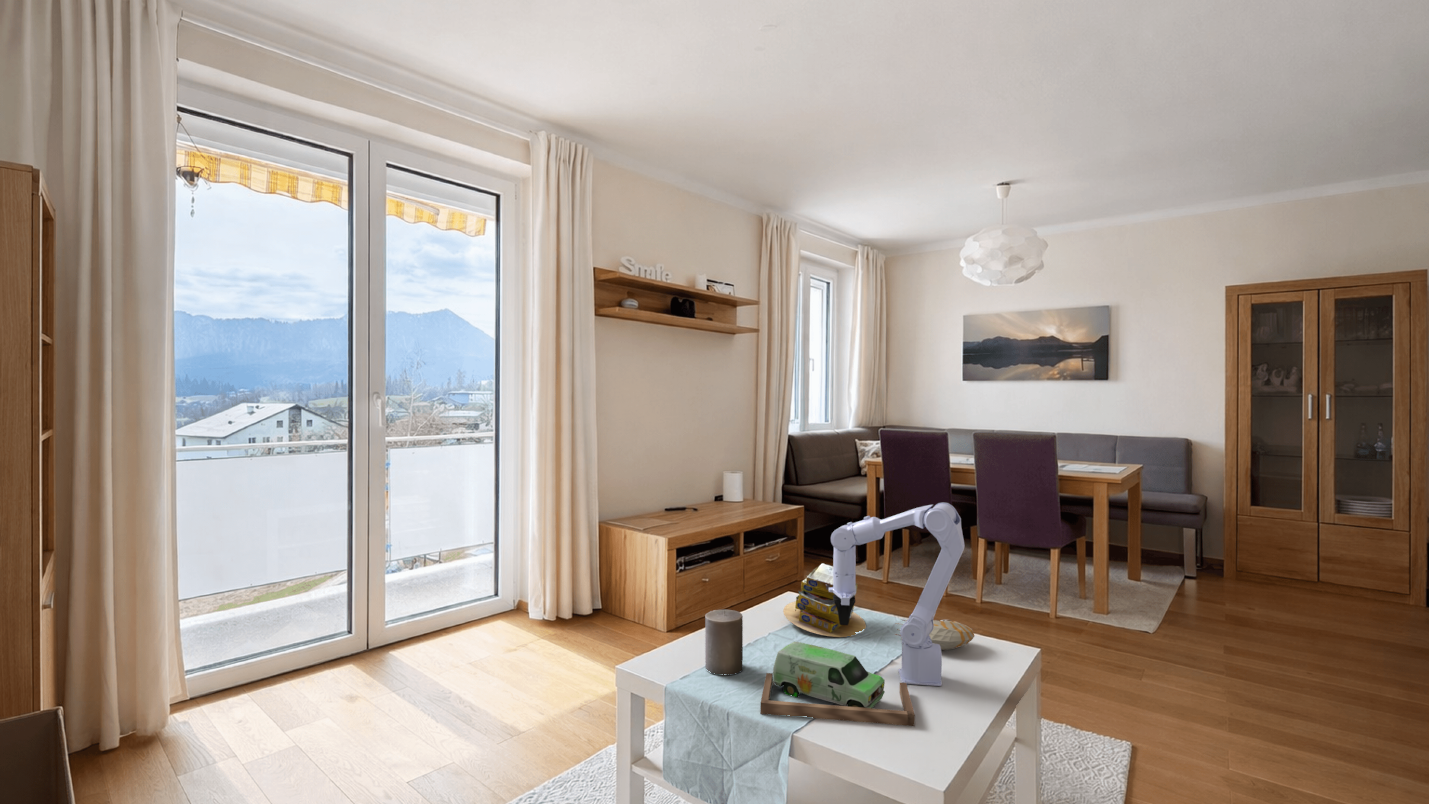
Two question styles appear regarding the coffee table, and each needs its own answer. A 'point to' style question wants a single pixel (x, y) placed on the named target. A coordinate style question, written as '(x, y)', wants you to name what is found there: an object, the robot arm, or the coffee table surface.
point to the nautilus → (949, 634)
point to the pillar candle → (724, 641)
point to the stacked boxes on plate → (820, 607)
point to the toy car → (826, 676)
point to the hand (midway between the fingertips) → (843, 624)
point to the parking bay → (839, 709)
